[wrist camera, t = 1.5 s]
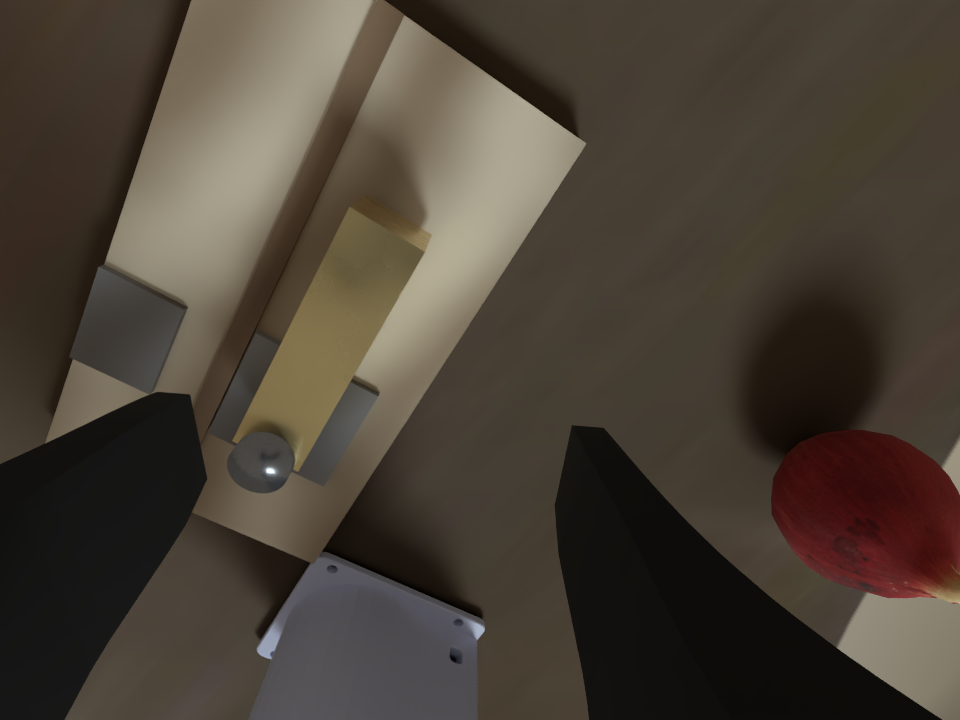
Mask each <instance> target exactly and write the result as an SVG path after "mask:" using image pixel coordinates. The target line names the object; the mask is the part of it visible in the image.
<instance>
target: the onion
mask: <svg viewBox="0 0 960 720" xmlns="http://www.w3.org/2000/svg"><path fill="white" fill-rule="evenodd" d="M771 502H772V516H773V518H774V520H775V521H776V523H777V525H778V527H779V529H780V531H781V533H782V534H783V536H784V537H785V539H786V541H787V542H788V544H789V545H790V547H791V549H792V550H793V552H794V553H795V554H796V555H797V556H798V557H799V558H800V559H801V560H802V561H803V562H804V563H805V564H806V565H807V566H808V567H810V568H811V569H813V570H814V571H816V572H817V573H819V574H820V575H822V576H823V577H825V578H827V579H829V580H832V581H834V582H836V583H839V584H841V585H844V586H848V587H851V588H855V589H858V590H861V591H865V592H868V593H872V594H875V595H879V596H883V597H887V598H914V597H931V598H940V599H943V600H945V601H947V602H950V603H953V604H954V603H957V604H960V495H959V492H958V490H957V489H956V487H955V485H954V484H953V482H952V480H951V479H950V477H949V476H948V474H947V473H946V472H945V471H944V470H943V469H942V468H941V467H940V466H939V465H938V464H937V463H936V462H935V461H934V460H933V459H932V458H930V457H929V456H927V455H926V454H924V453H923V452H921V451H920V450H918V449H917V448H915V447H914V446H912V445H911V444H909V443H907V442H905V441H903V440H901V439H898V438H896V437H894V436H892V435H886V434H881V433H876V432H870V431H865V430H850V429H848V430H841V431H834V432H826V433H822V434H819V435H816V436H814V437H811V438H809V439H806V440H804V441H801V442H800V443H799V444H798V445H796V446H795V447H794V448H793V449H792V450H791V451H789V452H788V453H787V454H786V456H785V458H784V460H783V461H782V463H781V465H780V467H779V468H778V470H777V472H776V474H775V476H774V478H773V486H772V497H771Z"/></svg>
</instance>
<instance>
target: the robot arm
mask: <svg viewBox="0 0 960 720" xmlns="http://www.w3.org/2000/svg"><path fill="white" fill-rule="evenodd" d="M206 481H207V474H206V469H205V464H204V460H203V455H202V450H201V445H200V440H199V435H198V430H197V425H196V421H195V416H194V411H193V406H192V401H191V396H190V394H180V393H167V392H155V393H152V394H150V395H147V396H145V397H142V398H140V399H138V400H135V401H133V402H131V403H129V404H126V405H124V406H122V407H120V408H118V409H116V410H114V411H112V412H110V413H107V414H105V415H103V416H101V417H99V418H97V419H95V420H93V421H91V422H89V423H87V424H85V425H83V426H81V427H78V428H76V429H74V430H72V431H70V432H68V433H66V434H64V435H62V436H60V437H58V438H56V439H54V440H51V441H49V442H47V443H45V444H43V445H41V446H39V447H37V448H35V449H33V450H31V451H28V452H26V453H24V454H22V455H20V456H17V457H15V458H13V459H11V460H8V461H6V462H4V463H2V464H0V720H64V719H65V718H66V716H67V714H68V712H69V710H70V708H71V707H72V705H73V703H74V701H75V699H76V697H77V695H78V694H79V692H80V690H81V688H82V686H83V684H84V682H85V681H86V679H87V677H88V675H89V673H90V671H91V670H92V668H93V666H94V665H95V663H96V661H97V660H98V658H99V656H100V655H101V653H102V652H103V650H104V648H105V647H106V645H107V643H108V642H109V640H110V639H111V637H112V636H113V634H114V633H115V631H116V630H117V628H118V627H119V625H120V624H121V622H122V621H123V619H124V618H125V616H126V615H127V613H128V612H129V610H130V609H131V607H132V606H133V604H134V603H135V601H136V600H137V598H138V597H139V595H140V594H141V592H142V591H143V589H144V588H145V586H146V585H147V583H148V582H149V580H150V579H151V577H152V576H153V574H154V573H155V571H156V570H157V568H158V567H159V565H160V564H161V562H162V561H163V559H164V558H165V556H166V555H167V553H168V551H169V550H170V548H171V547H172V545H173V544H174V542H175V541H176V539H177V538H178V536H179V534H180V533H181V531H182V530H183V528H184V527H185V525H186V523H187V521H188V519H189V517H190V515H191V513H192V511H193V509H194V507H195V505H196V503H197V500H198V498H199V496H200V494H201V492H202V490H203V487H204V485H205V483H206ZM555 514H556V528H557V540H558V552H559V558H560V563H561V569H562V574H563V579H564V584H565V589H566V594H567V599H568V604H569V608H570V613H571V618H572V623H573V628H574V633H575V638H576V643H577V648H578V652H579V657H580V662H581V667H582V672H583V678H584V684H585V691H586V697H587V704H588V713H589V720H942V719H940V718H939V717H937V716H935V715H934V714H932V713H931V712H929V711H928V710H926V709H925V708H923V707H922V706H920V705H919V704H917V703H916V702H914V701H913V700H911V699H910V698H908V697H907V696H905V695H904V694H902V693H901V692H899V691H898V690H896V689H895V688H893V687H892V686H890V685H889V684H887V683H886V682H884V681H883V680H881V679H880V678H878V677H877V676H875V675H874V674H873V673H871V672H870V671H868V670H867V669H865V668H864V667H863V666H861V665H860V664H858V663H857V662H855V661H854V660H853V659H851V658H850V657H848V656H847V655H846V654H844V653H843V652H841V651H840V650H839V649H837V648H836V647H835V646H833V645H832V644H831V643H829V642H828V641H827V640H825V639H824V638H823V637H821V636H820V635H819V634H817V633H816V632H815V631H813V630H812V629H811V628H809V627H808V626H807V625H805V624H804V623H803V622H801V621H800V620H799V619H797V618H796V617H795V616H793V615H792V614H791V613H790V612H788V611H787V610H786V609H785V608H783V607H782V606H781V605H780V604H778V603H777V602H776V601H775V600H773V599H772V598H771V597H770V596H768V595H767V594H766V593H765V592H764V591H763V590H761V589H760V588H759V587H758V586H757V585H756V584H754V583H753V582H752V581H751V580H750V579H749V578H747V577H746V576H745V575H744V574H743V573H742V572H740V571H739V570H738V569H737V568H736V567H735V566H733V565H732V564H731V563H730V562H729V561H728V560H727V559H726V558H725V557H723V556H722V555H721V554H720V553H719V552H718V551H717V550H716V549H715V548H714V547H713V546H712V545H711V544H710V543H709V542H708V541H707V540H706V539H705V538H704V537H702V536H701V535H700V534H699V533H698V532H697V531H696V530H695V529H694V528H693V527H692V526H691V525H690V524H689V523H688V522H687V521H686V520H685V519H684V518H683V517H682V516H681V515H680V514H679V513H678V511H677V510H676V509H675V508H674V507H673V506H672V505H671V504H670V503H669V502H668V501H667V500H666V499H665V498H664V497H663V496H662V494H661V493H660V492H659V491H658V490H657V489H656V488H655V487H654V486H653V485H652V483H651V482H650V481H649V480H648V479H647V478H646V477H645V475H644V474H643V473H642V472H641V471H640V470H639V469H638V467H637V466H636V465H635V464H634V463H633V462H632V460H631V459H630V458H629V457H628V456H627V455H626V453H625V452H624V451H623V450H622V449H621V448H620V446H619V445H618V444H617V443H616V442H615V440H614V439H613V438H612V437H611V436H610V435H609V434H608V432H607V431H606V430H605V429H604V428H598V427H585V426H573V425H572V428H571V432H570V437H569V442H568V446H567V451H566V456H565V460H564V465H563V470H562V474H561V479H560V484H559V488H558V493H557V498H556V502H555ZM330 565H334V566H336V567H332V566H330ZM457 619H460V620H457ZM484 631H485V622H484V621H483V620H482V619H481V618H479V617H476V616H474V615H472V614H469V613H467V612H465V611H462V610H460V609H458V608H455V607H453V606H451V605H448V604H446V603H444V602H441V601H439V600H437V599H435V598H432V597H430V596H428V595H425V594H423V593H421V592H418V591H416V590H414V589H411V588H409V587H407V586H404V585H402V584H400V583H397V582H395V581H393V580H391V579H388V578H386V577H384V576H381V575H379V574H377V573H374V572H372V571H370V570H367V569H365V568H363V567H360V566H358V565H356V564H353V563H351V562H349V561H347V560H344V559H342V558H340V557H337V556H335V555H333V554H330V553H327V552H321V554H320V555H319V557H318V558H317V560H316V561H315V563H314V564H312V563H310V564H309V566H308V567H307V569H306V570H305V572H304V573H303V575H302V577H301V578H300V580H299V581H298V583H297V584H296V586H295V587H294V589H293V591H292V592H291V594H290V595H289V597H288V598H287V600H286V601H285V603H284V605H283V606H282V608H281V609H280V611H279V612H278V614H277V615H276V617H275V618H274V620H273V622H272V623H271V625H270V626H269V628H268V629H267V631H266V632H265V634H264V636H263V637H262V639H261V640H260V642H259V644H258V647H257V652H258V653H259V654H260V655H261V656H263V657H266V658H269V659H271V661H270V664H269V667H268V669H267V672H266V674H265V677H264V680H263V682H262V685H261V688H260V690H259V693H258V695H257V698H256V701H255V703H254V706H253V709H252V711H251V714H250V716H249V719H248V720H477V639H478V638H479V637H480V636H481V635H482V634H483V632H484Z"/></svg>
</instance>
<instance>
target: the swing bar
mask: <svg viewBox="0 0 960 720" xmlns="http://www.w3.org/2000/svg"><path fill="white" fill-rule="evenodd" d="M431 236H432V234H430V233H429V232H427V231H425V230H424V229H422V228H420V227H419V226H417V225H416V224H414V223H412V222H411V221H409V220H407V219H406V218H404V217H402V216H401V215H399V214H397V213H396V212H394V211H393V210H391V209H389V208H388V207H386V206H384V205H383V204H381V203H379V202H378V201H376V200H374V199H373V198H371V197H370V196H368V195H367V196H365V197H364V198H362V199H361V200H359V201H358V202H356V203H354V204H353V205H351V206H350V207H349V209H348V211H347V213H346V215H345V217H344V219H343V221H342V223H341V225H340V227H339V229H338V231H337V233H336V235H335V237H334V239H333V241H332V243H331V245H330V247H329V249H328V251H327V253H326V255H325V257H324V259H323V261H322V263H321V265H320V267H319V269H318V271H317V273H316V275H315V277H314V279H313V281H312V283H311V285H310V287H309V289H308V291H307V293H306V295H305V297H304V299H303V301H302V303H301V305H300V307H299V309H298V311H297V313H296V315H295V317H294V319H293V321H292V323H291V325H290V327H289V329H288V331H287V333H286V335H285V337H284V339H283V341H282V343H281V345H280V347H279V349H278V351H277V353H276V355H275V357H274V359H273V361H272V363H271V365H270V367H269V369H268V371H267V373H266V375H265V377H264V379H263V381H262V383H261V385H260V387H259V389H258V391H257V393H256V395H255V397H254V399H253V401H252V403H251V405H250V407H249V409H248V411H247V413H246V415H245V417H244V419H243V421H242V422H241V424H240V426H239V428H238V430H237V432H236V434H235V436H234V438H233V440H232V441H233V442H235V443H237V445H236V446H235V448H234V449H233V451H232V452H231V453H230V455H229V457H228V460H227V469H228V472H229V475H230V476H231V478H232V479H233V480H234V482H235V483H236V484H238V485H239V486H240V487H242V488H244V489H246V490H248V491H251V492H254V493H271V492H274V491H277V490H278V489H280V488H281V487H282V486H283V485H284V484H285V483H286V481H287V479H288V477H289V476H290V474H291V472H292V470H295V471H297V472H298V471H299V470H300V468H301V466H302V464H303V463H304V461H305V459H306V457H307V456H308V454H309V452H310V450H311V449H312V447H313V445H314V444H315V442H316V440H317V438H318V437H319V435H320V433H321V431H322V430H323V428H324V426H325V424H326V423H327V421H328V419H329V418H330V416H331V414H332V412H333V411H334V409H335V407H336V405H337V404H338V402H339V400H340V398H341V397H342V395H343V393H344V392H345V390H346V388H347V386H348V385H349V383H350V381H351V379H352V378H353V376H354V374H355V373H356V371H357V369H358V367H359V366H360V364H361V362H362V360H363V359H364V357H365V355H366V353H367V352H368V350H369V348H370V347H371V345H372V343H373V341H374V340H375V338H376V336H377V334H378V333H379V331H380V329H381V327H382V326H383V324H384V322H385V321H386V319H387V317H388V315H389V314H390V312H391V310H392V308H393V307H394V305H395V303H396V301H397V300H398V298H399V296H400V295H401V293H402V291H403V289H404V288H405V286H406V284H407V282H408V281H409V279H410V277H411V276H412V274H413V272H414V270H415V269H416V267H417V265H418V263H419V262H420V260H421V258H422V256H423V255H424V253H425V251H426V248H427V246H428V243H429V241H430V238H431Z"/></svg>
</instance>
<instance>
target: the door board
mask: <svg viewBox="0 0 960 720" xmlns="http://www.w3.org/2000/svg"><path fill="white" fill-rule="evenodd" d="M585 145H586V143H585V142H583V141H582V140H580V139H579V138H578V137H576V136H575V135H573V134H572V133H571V132H569V131H568V130H566V129H565V128H563V127H562V126H561V125H559V124H558V123H556V122H555V121H554V120H552V119H551V118H549V117H548V116H546V115H545V114H544V113H542V112H541V111H539V110H538V109H537V108H535V107H534V106H532V105H531V104H529V103H528V102H527V101H525V100H524V99H522V98H521V97H520V96H518V95H517V94H515V93H514V92H513V91H511V90H510V89H508V88H507V87H505V86H504V85H503V84H501V83H500V82H498V81H497V80H496V79H494V78H493V77H491V76H490V75H488V74H487V73H486V72H484V71H483V70H481V69H480V68H479V67H477V66H476V65H474V64H473V63H471V62H470V61H469V60H467V59H466V58H464V57H463V56H462V55H460V54H459V53H457V52H456V51H454V50H453V49H452V48H450V47H449V46H447V45H446V44H445V43H443V42H442V41H440V40H439V39H437V38H436V37H435V36H433V35H432V34H430V33H429V32H428V31H426V30H425V29H423V28H422V27H420V26H419V25H418V24H416V23H415V22H413V21H412V20H411V19H409V18H408V17H406V16H405V15H404V14H403V13H402V12H400V11H399V10H397V9H396V8H395V7H393V6H392V5H390V4H389V3H387V2H386V1H385V0H191V3H190V6H189V9H188V12H187V15H186V18H185V21H184V24H183V27H182V30H181V34H180V37H179V40H178V43H177V46H176V49H175V52H174V55H173V58H172V61H171V64H170V67H169V70H168V73H167V76H166V79H165V82H164V85H163V88H162V91H161V94H160V97H159V100H158V103H157V106H156V109H155V112H154V115H153V118H152V121H151V124H150V127H149V130H148V133H147V136H146V140H145V143H144V146H143V149H142V152H141V155H140V158H139V161H138V164H137V167H136V170H135V173H134V176H133V179H132V182H131V185H130V188H129V191H128V194H127V197H126V200H125V203H124V206H123V209H122V212H121V215H120V218H119V221H118V224H117V227H116V230H115V233H114V236H113V239H112V243H111V246H110V249H109V252H108V255H107V258H106V261H105V264H104V265H102V266H99V267H98V270H97V273H96V276H95V279H94V282H93V285H92V288H91V291H90V295H89V298H88V301H87V304H86V307H85V310H84V313H83V316H82V319H81V322H80V325H79V328H78V331H77V334H76V337H75V341H74V344H73V347H72V350H71V353H70V356H69V357H70V358H72V359H73V361H72V364H71V367H70V370H69V373H68V376H67V379H66V382H65V385H64V388H63V391H62V394H61V397H60V400H59V403H58V406H57V409H56V412H55V415H54V418H53V421H52V424H51V427H50V430H49V433H48V436H47V439H46V442H45V443H47V442H49V441H51V440H54V439H56V438H58V437H60V436H62V435H64V434H66V433H68V432H70V431H72V430H74V429H76V428H78V427H81V426H83V425H85V424H87V423H89V422H91V421H93V420H95V419H97V418H99V417H101V416H103V415H105V414H107V413H110V412H112V411H114V410H116V409H118V408H120V407H122V406H124V405H126V404H129V403H131V402H133V401H135V400H138V399H140V398H142V397H145V396H147V395H150V394H152V393H155V392H167V393H180V394H190V396H191V401H192V406H193V411H194V416H195V421H196V425H197V430H198V435H199V440H200V445H201V450H202V455H203V460H204V464H205V469H206V474H207V481H206V483H205V485H204V487H203V490H202V492H201V494H200V496H199V498H198V500H197V503H196V505H195V507H194V509H193V511H192V513H194V514H197V515H199V516H201V517H204V518H206V519H208V520H211V521H213V522H215V523H218V524H220V525H223V526H225V527H227V528H230V529H232V530H234V531H237V532H239V533H241V534H244V535H246V536H249V537H251V538H253V539H256V540H258V541H260V542H263V543H265V544H267V545H270V546H272V547H275V548H277V549H279V550H282V551H284V552H286V553H289V554H291V555H293V556H296V557H298V558H300V559H303V560H305V561H308V562H310V563H312V564H314V563H315V561H316V560H317V558H318V557H319V555H320V554H321V552H322V551H323V549H324V548H325V546H326V544H327V543H328V541H329V540H330V538H331V537H332V535H333V534H334V532H335V531H336V529H337V527H338V526H339V524H340V523H341V521H342V520H343V518H344V517H345V515H346V514H347V512H348V511H349V509H350V507H351V506H352V504H353V503H354V501H355V500H356V498H357V497H358V495H359V494H360V492H361V490H362V489H363V487H364V486H365V484H366V483H367V481H368V480H369V478H370V477H371V475H372V474H373V472H374V470H375V469H376V467H377V466H378V464H379V463H380V461H381V460H382V458H383V457H384V455H385V453H386V452H387V450H388V449H389V447H390V446H391V444H392V443H393V441H394V440H395V438H396V436H397V435H398V433H399V432H400V430H401V429H402V427H403V426H404V424H405V423H406V421H407V420H408V418H409V416H410V415H411V413H412V412H413V410H414V409H415V407H416V406H417V404H418V403H419V401H420V399H421V398H422V396H423V395H424V393H425V392H426V390H427V389H428V387H429V386H430V384H431V383H432V381H433V379H434V378H435V376H436V375H437V373H438V372H439V370H440V369H441V367H442V366H443V364H444V362H445V361H446V359H447V358H448V356H449V355H450V353H451V352H452V350H453V349H454V347H455V345H456V344H457V342H458V341H459V339H460V338H461V336H462V335H463V333H464V332H465V330H466V329H467V327H468V325H469V324H470V322H471V321H472V319H473V318H474V316H475V315H476V313H477V312H478V310H479V308H480V307H481V305H482V304H483V302H484V301H485V299H486V298H487V296H488V295H489V293H490V292H491V290H492V288H493V287H494V285H495V284H496V282H497V281H498V279H499V278H500V276H501V275H502V273H503V271H504V270H505V268H506V267H507V265H508V264H509V262H510V261H511V259H512V258H513V256H514V255H515V253H516V251H517V250H518V248H519V247H520V245H521V244H522V242H523V241H524V239H525V238H526V236H527V234H528V233H529V231H530V230H531V228H532V227H533V225H534V224H535V222H536V221H537V219H538V217H539V216H540V214H541V213H542V211H543V210H544V208H545V207H546V205H547V204H548V202H549V201H550V199H551V197H552V196H553V194H554V193H555V191H556V190H557V188H558V187H559V185H560V184H561V182H562V180H563V179H564V177H565V176H566V174H567V173H568V171H569V170H570V168H571V167H572V165H573V164H574V162H575V160H576V159H577V157H578V156H579V154H580V153H581V151H582V150H583V148H584V147H585ZM367 195H368V196H370V197H371V198H373V199H374V200H376V201H378V202H379V203H381V204H383V205H384V206H386V207H388V208H389V209H391V210H393V211H394V212H396V213H397V214H399V215H401V216H402V217H404V218H406V219H407V220H409V221H411V222H412V223H414V224H416V225H417V226H419V227H420V228H422V229H424V230H425V231H427V232H429V233H430V234H432V236H431V238H430V241H429V243H428V246H427V248H426V251H425V253H424V255H423V256H422V258H421V260H420V262H419V263H418V265H417V267H416V269H415V270H414V272H413V274H412V276H411V277H410V279H409V281H408V282H407V284H406V286H405V288H404V289H403V291H402V293H401V295H400V296H399V298H398V300H397V301H396V303H395V305H394V307H393V308H392V310H391V312H390V314H389V315H388V317H387V319H386V321H385V322H384V324H383V326H382V327H381V329H380V331H379V333H378V334H377V336H376V338H375V340H374V341H373V343H372V345H371V347H370V348H369V350H368V352H367V353H366V355H365V357H364V359H363V360H362V362H361V364H360V366H359V367H358V369H357V371H356V373H355V374H354V376H353V378H352V379H351V381H350V383H349V385H348V386H347V388H346V390H345V392H344V393H343V395H342V397H341V398H340V400H339V402H338V404H337V405H336V407H335V409H334V411H333V412H332V414H331V416H330V418H329V419H328V421H327V423H326V424H325V426H324V428H323V430H322V431H321V433H320V435H319V437H318V438H317V440H316V442H315V444H314V445H313V447H312V449H311V450H310V452H309V454H308V456H307V457H306V459H305V461H304V463H303V464H302V466H301V468H300V470H299V471H298V472H297V471H295V470H292V472H291V474H290V476H289V477H288V479H287V481H286V483H285V484H284V485H283V486H282V487H281V488H280V489H278V490H277V491H274V492H271V493H254V492H251V491H248V490H246V489H244V488H242V487H240V486H239V485H238V484H236V483H235V482H234V480H233V479H232V478H231V476H230V475H229V472H228V469H227V460H228V457H229V455H230V453H231V452H232V451H233V449H234V448H235V446H236V445H237V443H235V442H233V441H232V440H233V438H234V436H235V434H236V432H237V430H238V428H239V426H240V424H241V422H242V421H243V419H244V417H245V415H246V413H247V411H248V409H249V407H250V405H251V403H252V401H253V399H254V397H255V395H256V393H257V391H258V389H259V387H260V385H261V383H262V381H263V379H264V377H265V375H266V373H267V371H268V369H269V367H270V365H271V363H272V361H273V359H274V357H275V355H276V353H277V351H278V349H279V347H280V345H281V343H282V341H283V339H284V337H285V335H286V333H287V331H288V329H289V327H290V325H291V323H292V321H293V319H294V317H295V315H296V313H297V311H298V309H299V307H300V305H301V303H302V301H303V299H304V297H305V295H306V293H307V291H308V289H309V287H310V285H311V283H312V281H313V279H314V277H315V275H316V273H317V271H318V269H319V267H320V265H321V263H322V261H323V259H324V257H325V255H326V253H327V251H328V249H329V247H330V245H331V243H332V241H333V239H334V237H335V235H336V233H337V231H338V229H339V227H340V225H341V223H342V221H343V219H344V217H345V215H346V213H347V211H348V209H349V207H350V206H351V205H353V204H354V203H356V202H358V201H359V200H361V199H362V198H364V197H365V196H367Z"/></svg>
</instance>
